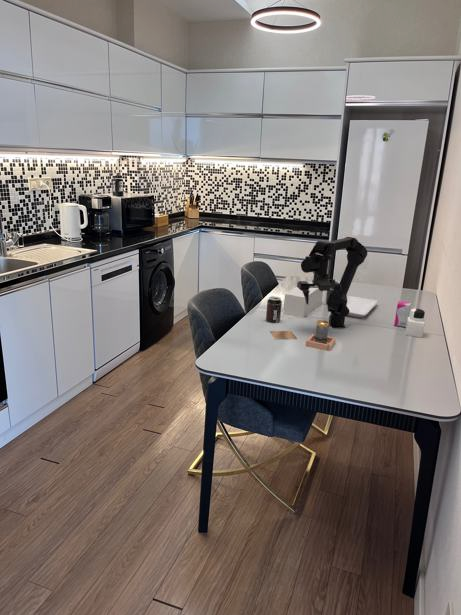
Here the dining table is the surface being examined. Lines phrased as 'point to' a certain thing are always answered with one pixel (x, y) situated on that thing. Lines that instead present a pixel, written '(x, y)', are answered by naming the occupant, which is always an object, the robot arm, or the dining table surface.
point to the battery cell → (322, 331)
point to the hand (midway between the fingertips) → (317, 304)
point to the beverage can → (273, 309)
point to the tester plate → (283, 335)
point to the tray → (359, 306)
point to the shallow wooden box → (320, 345)
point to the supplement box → (402, 314)
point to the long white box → (301, 301)
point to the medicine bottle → (415, 323)
